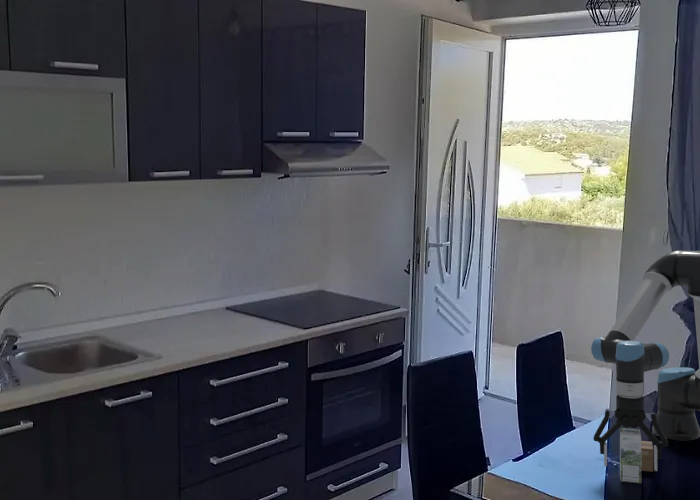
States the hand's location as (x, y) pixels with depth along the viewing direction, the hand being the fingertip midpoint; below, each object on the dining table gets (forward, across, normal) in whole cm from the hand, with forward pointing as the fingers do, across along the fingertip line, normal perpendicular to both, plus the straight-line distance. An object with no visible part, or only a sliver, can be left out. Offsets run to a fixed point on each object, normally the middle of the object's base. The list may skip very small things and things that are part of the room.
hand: (630, 467), depth 214 cm
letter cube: (+4, +3, +12) cm, 13 cm away
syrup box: (+4, 0, 0) cm, 4 cm away
